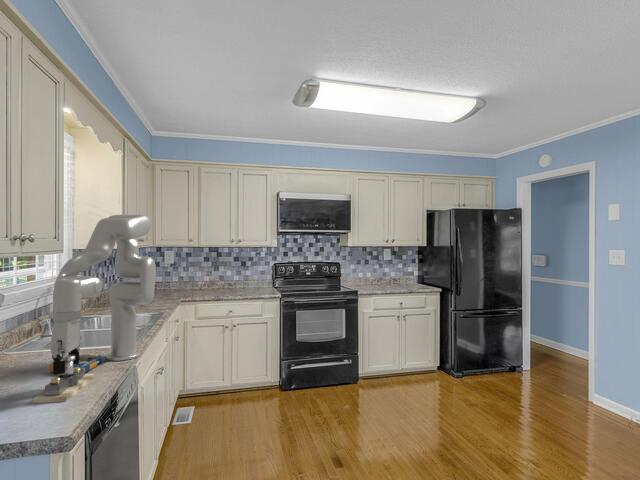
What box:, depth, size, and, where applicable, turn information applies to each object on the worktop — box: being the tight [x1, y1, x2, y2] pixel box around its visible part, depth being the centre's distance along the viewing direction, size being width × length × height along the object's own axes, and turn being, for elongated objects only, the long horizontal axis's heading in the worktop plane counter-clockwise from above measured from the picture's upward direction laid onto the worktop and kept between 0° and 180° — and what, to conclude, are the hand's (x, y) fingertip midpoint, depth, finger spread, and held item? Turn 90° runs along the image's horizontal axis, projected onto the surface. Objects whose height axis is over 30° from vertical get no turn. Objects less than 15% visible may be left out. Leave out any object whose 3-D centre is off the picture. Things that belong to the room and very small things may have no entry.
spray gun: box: [48, 354, 106, 375], centre depth 142 cm, size 21×4×15 cm
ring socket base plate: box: [33, 367, 95, 404], centre depth 122 cm, size 20×9×6 cm, turn 11°
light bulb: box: [61, 354, 75, 378], centre depth 123 cm, size 4×4×9 cm
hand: (66, 368), depth 122 cm, fingers open, 9 cm apart
